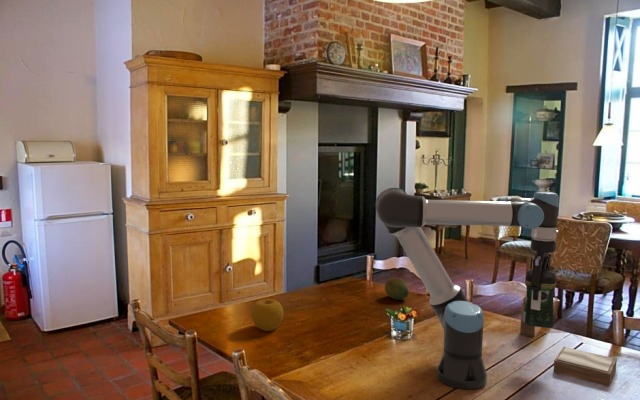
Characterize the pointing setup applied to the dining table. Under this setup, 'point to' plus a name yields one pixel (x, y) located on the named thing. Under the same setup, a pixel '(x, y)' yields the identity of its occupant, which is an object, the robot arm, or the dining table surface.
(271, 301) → the apple
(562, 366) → the plinth
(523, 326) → the pepper mill
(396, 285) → the fruit
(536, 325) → the coffee jar
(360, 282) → the dining table surface
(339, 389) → the dining table surface
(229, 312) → the dining table surface
